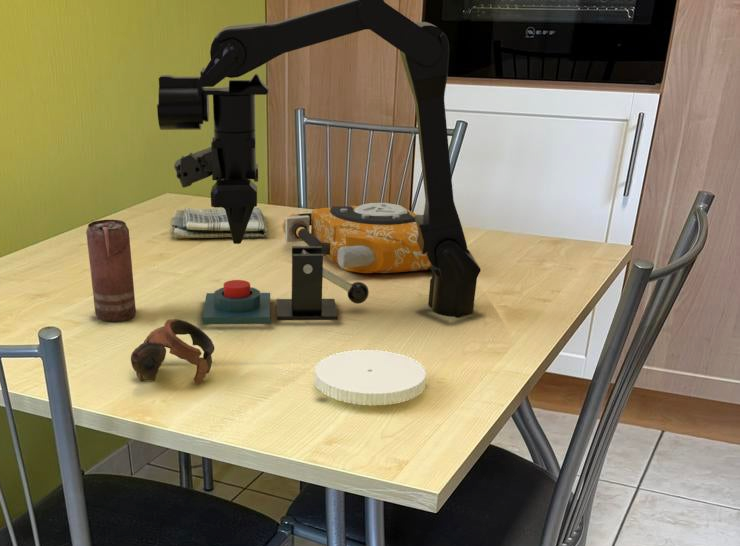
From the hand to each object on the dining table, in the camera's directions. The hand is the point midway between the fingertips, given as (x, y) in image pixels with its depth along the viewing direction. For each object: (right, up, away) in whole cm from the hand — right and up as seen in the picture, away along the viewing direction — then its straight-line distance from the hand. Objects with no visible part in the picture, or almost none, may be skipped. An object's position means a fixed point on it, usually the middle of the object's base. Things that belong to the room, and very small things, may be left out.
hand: (237, 243), depth 135 cm
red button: (0, -7, +4) cm, 8 cm away
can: (-19, -10, +5) cm, 22 cm away
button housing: (0, -9, +6) cm, 11 cm away
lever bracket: (+10, -9, +5) cm, 15 cm away
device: (+21, +6, +30) cm, 37 cm away
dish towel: (-5, +17, +49) cm, 52 cm away
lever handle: (+13, -6, +3) cm, 15 cm away
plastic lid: (+17, -24, -18) cm, 35 cm away
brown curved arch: (-9, -22, -14) cm, 28 cm away
